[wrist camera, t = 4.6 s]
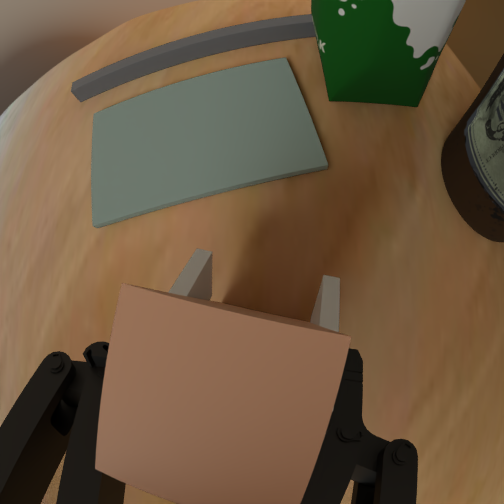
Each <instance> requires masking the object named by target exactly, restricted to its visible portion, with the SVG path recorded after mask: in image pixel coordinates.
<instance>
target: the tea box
mask: <svg viewBox="0 0 504 504" xmlns="http://www.w3.org/2000/svg"><path fill="white" fill-rule="evenodd" d="M350 341H351V336H348V335H345V334H342V333H339V332H336V331H333V330H330V329H327V328H324V327H321V326H318V325H315V324H313V323H310V322H307V321H303V320H298V319H293V318H288V317H283V316H278V315H274V314H269V313H264V312H260V311H255V310H251V309H246V308H242V307H238V306H233V305H229V304H225V303H220V302H215V301H209V300H204V299H198V298H193V297H188V296H183V295H178V294H172V293H167V292H162V291H158V290H153V289H148V288H143V287H138V286H134V285H129V284H125V283H122V285H121V289H120V294H119V298H118V303H117V307H116V312H115V317H114V322H113V327H112V332H111V338H110V343H109V349H108V355H107V361H106V367H105V374H104V380H103V388H102V395H101V404H100V412H99V422H98V433H97V445H96V461H95V469H97V470H99V471H101V472H103V473H105V474H107V475H109V476H111V477H113V478H115V479H117V480H119V481H121V482H124V483H126V484H128V485H130V486H133V487H135V488H138V489H140V490H142V491H145V492H147V493H150V494H152V495H155V496H158V497H160V498H163V499H166V500H169V501H172V502H175V503H178V504H300V503H301V501H302V498H303V496H304V493H305V490H306V488H307V485H308V483H309V480H310V477H311V475H312V472H313V469H314V466H315V463H316V461H317V458H318V455H319V452H320V449H321V446H322V443H323V440H324V437H325V433H326V430H327V427H328V424H329V421H330V417H331V414H332V410H333V407H334V404H335V400H336V396H337V393H338V389H339V385H340V382H341V378H342V374H343V370H344V366H345V362H346V358H347V354H348V349H349V345H350Z"/></svg>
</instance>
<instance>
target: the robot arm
mask: <svg viewBox="0 0 504 504" xmlns="http://www.w3.org/2000/svg"><path fill="white" fill-rule="evenodd" d="M168 293H172V294H178V295H183V296H188V297H193V298H198V299H204V300H210V298H211V296H212V252H211V251H206V250H202V249H196V251H195V252H194V254H193V255H192V257H191V258H190V260H189V261H188V263H187V264H186V266H185V268H184V269H183V271H182V272H181V274H180V275H179V277H178V278H177V280H176V281H175V283H174V285H173V286H172V288H171V289H170V291H169V292H168ZM339 307H340V278H337V277H332V276H327V275H323V279H322V282H321V285H320V289H319V292H318V296H317V299H316V302H315V306H314V309H313V312H312V315H311V321H310V323H313V324H315V325H318V326H321V327H324V328H327V329H330V330H333V331H336V332H339ZM108 349H109V343H107V342H96V343H93V344H91V345H90V346H88V347H87V348H86V349H85V351H84V353H83V355H84V357H85V359H86V361H87V362H81V361H72V360H71V359H70V357H69V356H68V355H67V354H66V353H64V352H60V351H58V352H53V353H51V354H49V355H48V356H47V357H46V358H45V359H44V360H43V361H42V363H41V364H40V366H39V367H38V369H37V370H36V372H35V373H34V375H33V376H32V377H31V379H30V380H29V382H28V384H27V385H26V387H25V388H24V390H23V391H22V393H21V394H20V396H19V397H18V399H17V401H16V402H15V404H14V405H13V407H12V409H11V410H10V412H9V413H8V415H7V417H6V418H5V420H4V422H3V423H2V425H1V427H0V504H41V502H42V499H43V497H44V495H45V493H46V491H47V489H48V487H49V484H50V482H51V480H52V478H53V476H54V474H55V472H56V470H57V468H58V466H59V464H60V462H61V460H62V458H63V456H64V454H65V452H66V456H65V460H64V465H63V470H62V475H61V480H60V485H59V491H58V497H57V503H56V504H123V502H124V493H125V484H126V483H124V482H121V481H119V480H117V479H115V478H113V477H111V476H109V475H107V474H105V473H103V472H101V471H99V470H97V469H95V461H96V445H97V433H98V422H99V412H100V404H101V395H102V388H103V380H104V374H105V367H106V361H107V355H108ZM362 373H363V360H362V358H361V356H360V354H359V352H358V350H356V349H350V348H349V349H348V354H347V358H346V362H345V366H344V370H343V374H342V378H341V382H340V385H339V389H338V393H337V396H336V400H335V404H334V407H333V410H332V414H331V417H330V421H329V424H328V427H327V430H326V433H325V437H324V440H323V443H322V446H321V449H320V452H319V455H318V458H317V461H316V463H315V466H314V469H313V472H312V475H311V477H310V480H309V483H308V485H307V488H306V490H305V493H304V496H303V498H302V501H301V503H300V504H340V503H341V500H342V498H343V496H344V494H345V491H346V489H347V487H348V484H349V482H350V479H351V480H353V481H354V486H353V493H352V500H351V504H416V496H417V472H418V455H417V450H416V448H415V446H414V445H413V444H412V443H411V442H409V441H408V440H404V439H396V440H393V441H392V442H389V441H387V440H384V439H382V438H379V437H377V436H375V435H373V434H372V433H370V432H369V431H368V430H367V429H366V427H365V426H364V423H363V420H362V393H363V384H362V382H363V374H362ZM66 450H67V451H66Z"/></svg>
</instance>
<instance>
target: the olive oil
mask: <svg viewBox="0 0 504 504" xmlns="http://www.w3.org/2000/svg"><path fill="white" fill-rule="evenodd" d="M441 165H442V173H443V178H444V182H445V185H446V188H447V191H448V193H449V196H450V198H451V200H452V202H453V204H454V206H455V207H456V209H457V210H458V212H459V213H460V215H461V216H462V217H463V219H464V220H465V221H466V222H467V223H468V224H469V225H470V226H471V227H472V228H473V229H474V230H475V231H476V232H477V233H479V234H480V235H482V236H483V237H485V238H487V239H490V240H492V241H496V242H504V54H503V56H502V57H501V59H500V61H499V62H498V64H497V66H496V67H495V69H494V71H493V72H492V74H491V75H490V77H489V79H488V80H487V82H486V83H485V85H484V87H483V88H482V90H481V91H480V93H479V94H478V96H477V97H476V99H475V100H474V102H473V103H472V105H471V106H470V108H469V109H468V110H467V112H466V113H465V115H464V116H463V117H462V119H461V120H460V121H459V123H458V124H457V125H456V127H455V128H454V130H453V131H452V132H451V134H450V135H449V137H448V138H447V140H446V142H445V144H444V147H443V151H442V158H441Z"/></svg>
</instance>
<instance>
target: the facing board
mask: <svg viewBox="0 0 504 504" xmlns="http://www.w3.org/2000/svg"><path fill="white" fill-rule="evenodd" d="M327 168H328V163H327V160H326V157H325V154H324V151H323V149H322V146H321V143H320V140H319V138H318V135H317V132H316V129H315V127H314V124H313V122H312V119H311V116H310V114H309V111H308V109H307V106H306V104H305V101H304V99H303V96H302V94H301V91H300V89H299V87H298V84H297V82H296V80H295V77H294V75H293V73H292V70H291V68H290V66H289V63H288V61H287V59H286V58H280V59H274V60H268V61H263V62H258V63H253V64H248V65H243V66H238V67H234V68H230V69H225V70H221V71H217V72H213V73H209V74H206V75H202V76H198V77H195V78H191V79H188V80H184V81H181V82H178V83H175V84H171V85H168V86H165V87H162V88H159V89H156V90H153V91H150V92H148V93H145V94H142V95H139V96H137V97H134V98H131V99H129V100H126V101H123V102H121V103H118V104H116V105H113V106H111V107H109V108H106V109H104V110H101V111H99V112H97V113H95V114H94V118H93V134H92V164H91V190H92V221H93V226H94V227H96V228H100V227H103V226H106V225H109V224H112V223H116V222H119V221H122V220H125V219H129V218H132V217H135V216H139V215H142V214H145V213H149V212H152V211H156V210H159V209H163V208H166V207H170V206H173V205H177V204H181V203H184V202H188V201H192V200H195V199H199V198H203V197H207V196H211V195H215V194H219V193H223V192H227V191H231V190H235V189H239V188H243V187H247V186H251V185H255V184H260V183H264V182H268V181H273V180H277V179H282V178H286V177H291V176H296V175H300V174H305V173H310V172H315V171H320V170H325V169H327Z"/></svg>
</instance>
